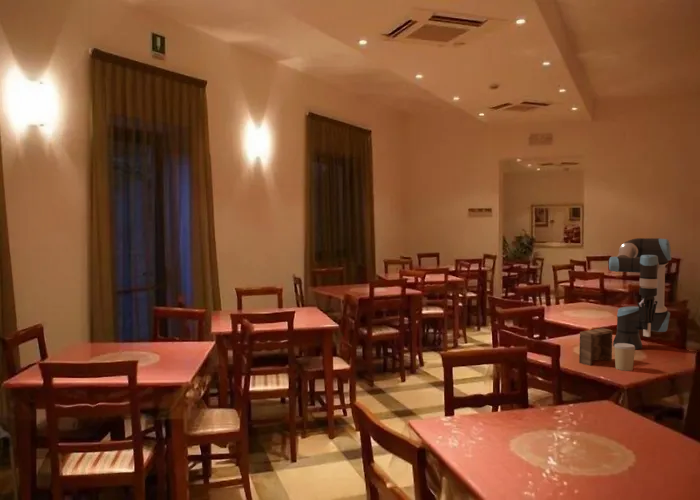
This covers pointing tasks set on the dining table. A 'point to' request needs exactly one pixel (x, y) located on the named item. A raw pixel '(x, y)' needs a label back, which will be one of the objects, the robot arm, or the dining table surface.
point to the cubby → (595, 345)
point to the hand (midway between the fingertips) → (646, 336)
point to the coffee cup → (624, 356)
